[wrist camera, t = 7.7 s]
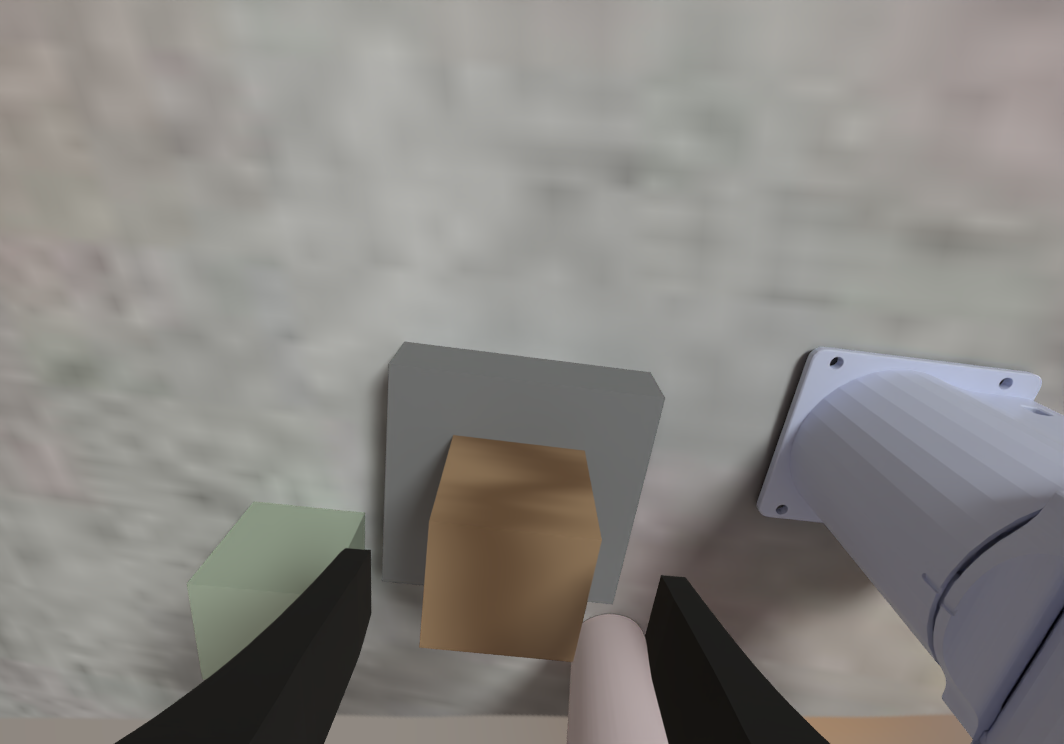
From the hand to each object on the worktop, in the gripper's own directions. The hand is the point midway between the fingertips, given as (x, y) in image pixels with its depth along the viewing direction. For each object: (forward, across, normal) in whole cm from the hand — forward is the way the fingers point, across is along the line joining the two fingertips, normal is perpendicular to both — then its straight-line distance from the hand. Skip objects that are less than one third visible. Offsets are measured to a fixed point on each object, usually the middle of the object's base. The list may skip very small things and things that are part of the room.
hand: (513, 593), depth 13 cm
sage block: (+10, +9, +8) cm, 16 cm away
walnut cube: (+7, 0, +2) cm, 8 cm away
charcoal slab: (+10, 0, +2) cm, 11 cm away
